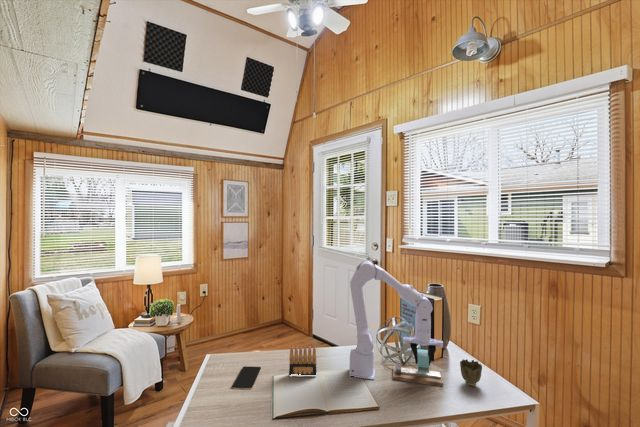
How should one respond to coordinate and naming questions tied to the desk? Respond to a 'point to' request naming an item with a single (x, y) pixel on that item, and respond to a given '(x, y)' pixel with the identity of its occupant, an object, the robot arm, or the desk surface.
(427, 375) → the rail
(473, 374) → the cup
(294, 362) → the ammunition clip
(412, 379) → the mounting board
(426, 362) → the block
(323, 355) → the desk surface
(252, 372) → the smartphone
